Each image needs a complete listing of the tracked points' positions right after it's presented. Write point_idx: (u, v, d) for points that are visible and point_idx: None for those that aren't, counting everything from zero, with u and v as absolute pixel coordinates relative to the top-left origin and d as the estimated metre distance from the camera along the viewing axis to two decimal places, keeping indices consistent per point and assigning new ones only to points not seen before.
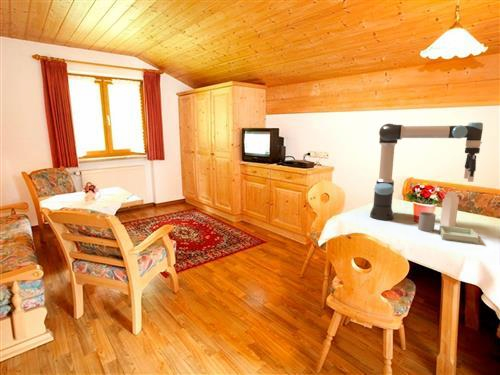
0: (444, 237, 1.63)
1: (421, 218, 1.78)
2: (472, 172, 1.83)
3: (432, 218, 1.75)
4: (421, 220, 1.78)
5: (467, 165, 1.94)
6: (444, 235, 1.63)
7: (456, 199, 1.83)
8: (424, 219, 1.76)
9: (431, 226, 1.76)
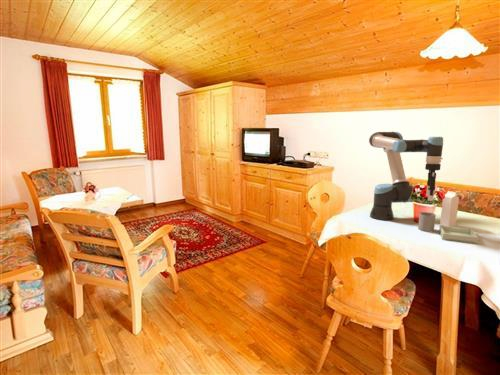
0: (444, 237, 1.63)
1: (421, 218, 1.78)
2: (432, 191, 1.68)
3: (432, 218, 1.75)
4: (421, 220, 1.78)
5: (429, 182, 1.80)
6: (444, 235, 1.63)
7: (456, 199, 1.83)
8: (424, 219, 1.76)
9: (431, 226, 1.76)
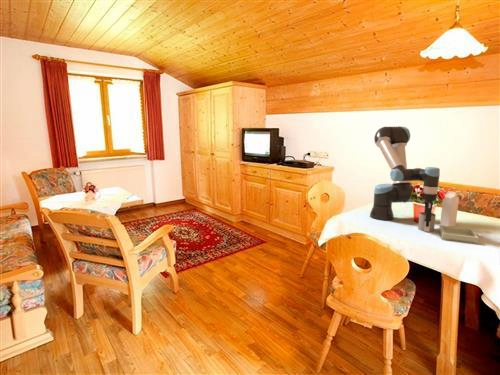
0: (444, 237, 1.63)
1: (421, 218, 1.78)
2: (428, 222, 1.74)
3: (432, 218, 1.75)
4: (421, 220, 1.78)
5: (426, 212, 1.82)
6: (444, 235, 1.63)
7: (456, 199, 1.83)
8: (424, 219, 1.76)
9: (431, 226, 1.76)
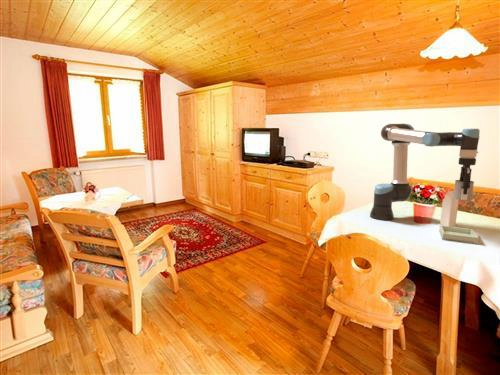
0: (444, 237, 1.63)
1: (457, 185, 1.61)
2: (466, 189, 1.57)
3: (470, 185, 1.58)
4: (457, 188, 1.61)
5: (462, 180, 1.65)
6: (444, 235, 1.63)
7: (456, 199, 1.83)
8: (462, 186, 1.59)
9: (469, 194, 1.59)
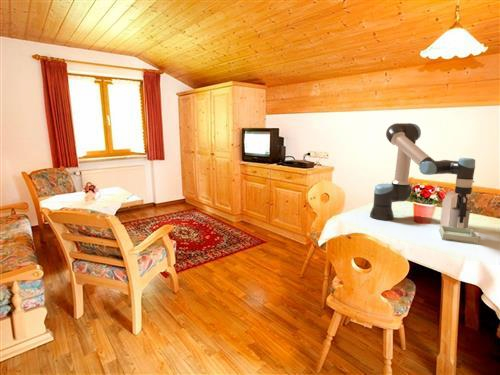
0: (444, 237, 1.63)
1: (454, 213, 1.64)
2: (462, 218, 1.60)
3: (467, 213, 1.61)
4: (454, 216, 1.64)
5: (458, 207, 1.68)
6: (444, 235, 1.63)
7: (456, 199, 1.83)
8: (458, 214, 1.62)
9: (465, 222, 1.62)
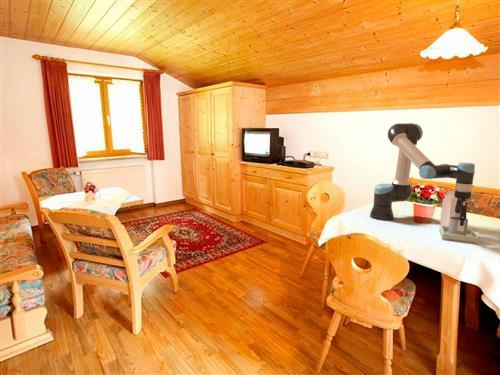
0: (444, 237, 1.63)
1: (452, 223, 1.65)
2: (462, 221, 1.58)
3: (465, 223, 1.62)
4: (452, 225, 1.65)
5: (457, 209, 1.70)
6: (444, 235, 1.63)
7: (456, 199, 1.83)
8: (456, 224, 1.63)
9: (464, 232, 1.63)
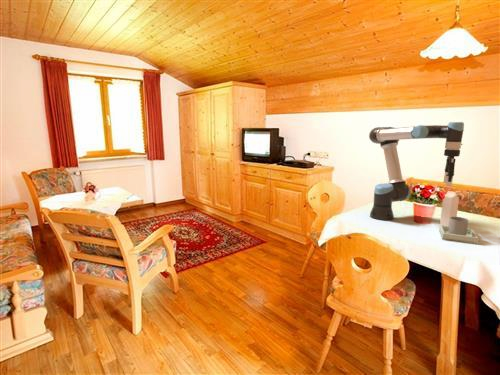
0: (444, 237, 1.63)
1: (452, 223, 1.65)
2: (450, 177, 1.66)
3: (465, 223, 1.62)
4: (452, 225, 1.65)
5: (447, 168, 1.78)
6: (444, 235, 1.63)
7: (456, 199, 1.83)
8: (456, 224, 1.63)
9: (464, 232, 1.63)
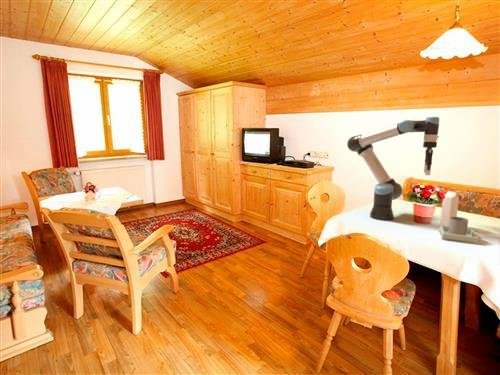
0: (444, 237, 1.63)
1: (452, 223, 1.65)
2: (429, 166, 1.85)
3: (465, 223, 1.62)
4: (452, 225, 1.65)
5: (426, 159, 1.97)
6: (444, 235, 1.63)
7: (456, 199, 1.83)
8: (456, 224, 1.63)
9: (464, 232, 1.63)
